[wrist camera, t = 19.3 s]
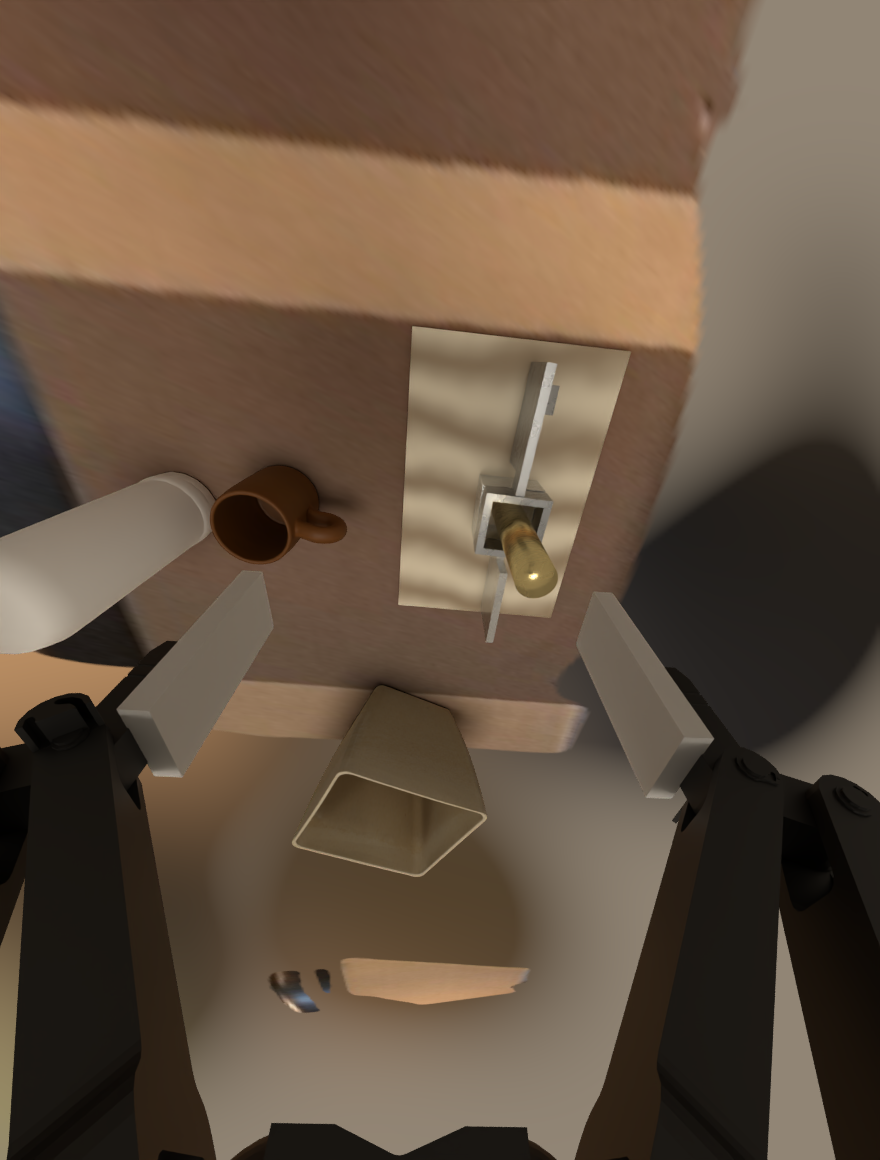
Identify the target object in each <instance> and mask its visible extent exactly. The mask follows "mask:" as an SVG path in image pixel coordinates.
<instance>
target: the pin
mask: <svg viewBox="0 0 880 1160" xmlns="http://www.w3.org/2000/svg"><path fill="white" fill-rule="evenodd" d="M491 513H492V516H493V519H494V522H495V525H496V528H497V531H498V535H499V538H500V541H501V544H502V547H503V550H504V553H505V556H506V559H507V562H508V565H509V568H510V571H511V575H512V578H513V581H514V584H515V587H516V589H517V591H518V592H519V593H520V594H521V595H523V596H524V597H527V598H540V597H543V596H546V595H547V594H549V593H550V592H551V591H552V590H553V589H554V588H555V587H556V585H557V582H558V573H557V571H556V569H555V567H554V565H553V563H552V561H551V560H550V558H549V556H548V554H547V552H546V550H545V548H544V547H543V545H542V543H541V541H540V539H539V537H538V535H537V533H536V532H535V530H534V528H533V526H532V524H531V522H530V520H529V519H528V517H527V515H526V513H525V511H524V509H523V507H522V505H517V504H509V503H502V502H494V501H493V504H492V509H491Z"/></svg>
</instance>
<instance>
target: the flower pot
mask: <svg viewBox="0 0 880 1160" xmlns="http://www.w3.org/2000/svg"><path fill="white" fill-rule="evenodd" d="M486 819H487V814H486V810H485V805H484V801H483V797H482V793H481V790H480V786H479V783H478V780H477V776H476V773H475V770H474V766H473V764H472V761H471V758H470V755H469V752H468V750H467V747H466V745H465V742H464V740H463V737H462V735H461V733H460V731H459V728H458V726H457V724H456V722H455V720H454V718H453V716H452V714H451V713H450V711H449V710H448V709H446V708H443V707H440V706H437V705H435V704H432V703H430V702H427V701H424V700H422V699H419V698H416V697H414V696H411V695H408V694H406V693H403V692H400V691H398V690H395V689H392V688H389V687H387V686H383V685H381V686H378V687H376V688H375V690H374V691H373V693H372V694H371V696H370V697H369V699H368V701H367V702H366V704H365V706H364V707H363V709H362V710H361V712H360V714H359V715H358V717H357V718H356V720H355V721H354V723H353V725H352V726H351V728H350V729H349V731H348V733H347V734H346V736H345V737H344V739H343V740H342V742H341V744H340V745H339V747H338V749H337V751H336V752H335V754H334V756H333V757H332V759H331V761H330V763H329V765H328V767H327V768H326V770H325V772H324V774H323V776H322V778H321V780H320V782H319V784H318V786H317V788H316V790H315V792H314V794H313V796H312V798H311V800H310V802H309V804H308V807H307V809H306V811H305V813H304V815H303V817H302V819H301V822H300V824H299V826H298V829H297V831H296V833H295V836H294V838H293V841H292V844H293V845H294V846H295V847H297V848H301V849H305V850H309V851H313V852H317V853H320V854H324V855H329V856H333V857H337V858H341V859H345V860H349V861H352V862H356V863H360V864H365V865H368V866H373V867H377V868H381V869H385V870H389V871H393V872H398V873H402V874H406V875H410V876H414V877H419V876H423V875H424V874H425V873H426V872H427V871H428V870H430V869H431V868H432V867H433V866H434V865H435V864H436V863H437V862H439V861H440V860H441V859H442V858H443V857H444V856H445V855H447V854H448V853H449V852H450V851H451V850H452V849H453V848H455V846H457V845H458V844H459V843H460V842H461V841H462V840H464V839H465V838H466V837H467V836H468V835H469V834H470V833H472V832H473V831H474V830H475V829H476V828H477V827H478V826H480V825H481V824H482V823H483V822H484V821H485V820H486Z"/></svg>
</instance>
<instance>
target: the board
mask: <svg viewBox="0 0 880 1160" xmlns="http://www.w3.org/2000/svg"><path fill="white" fill-rule="evenodd" d="M630 354H631V351H622V350H613V349H605V348H596V347H588V346H579V345H570V344H562V343H553V342H545V341H536V340H527V339H519V338H510V337H502V336H493V335H484V334H476V333H467V332H459V331H450V330H441V329H433V328H424V327H416V326H412V342H411V362H410V382H409V402H408V422H407V442H406V462H405V482H404V502H403V522H402V542H401V562H400V582H399V602H398V605H408V606H419V607H431V608H443V609H455V610H466V611H478V612H481V602H482V597H483V591H484V586H485V580H486V575H487V569H488V564H489V558H490V556H488V555H480V554H475V551H474V545H473V542H474V541H473V535H472V529H471V527H472V521H473V514H474V507H475V501H476V494H477V487H478V481H479V474H480V475H490V476H500V477H510V478H514V477H515V473H516V471H515V469H514V468H513V466H512V465H511V463H510V462H509V461H510V456H511V452H512V447H513V443H514V438H515V434H516V429H517V424H518V420H519V415H520V411H521V406H522V402H523V397H524V393H525V388H526V383H527V379H528V374H529V370H530V365H531V362H550V363H556V364H557V367H556V371H555V375H554V379H553V383H552V384H553V385H557V386H560V387H559V391H558V396H557V400H556V404H555V409H554V413H553V415H544V419H543V423H542V427H541V431H540V435H539V439H538V443H537V447H536V451H535V455H534V459H533V463H532V467H531V471H530V475H529V479H530V480H537V481H538V482H539V484H540V485H541V486H542V487H543V489H544V490H545V491H546V492H545V493H547V494H548V495H549V497H550V498H551V499H552V500H553V505H552V509H551V512H550V516H549V519H548V522H547V526H546V529H545V533H544V536H543V539H542V545H543V547H544V548H545V550H546V552H547V554H548V556H549V558H550V560H551V561H552V563H553V565H554V567H555V569H556V571H557V573H558V582H557V585H556V587H555V588H554V589H553V590H552V591H551V592H550V593H549V594H547V595H546V596H543V597H540V598H527V597H524V596H523V595H521V594H520V593H519V592H518V591H517V589H516V587H515V584H514V581H513V578H512V575H511V571H510V568H509V565H508V562H507V559H506V558H505V557H504V563H505V567H506V570H507V573H508V575H507V580H506V584H505V589H504V593H503V598H502V603H501V607H500V612H499V613H502V614H514V615H525V616H537V617H549V618H551V615H552V612H553V608H554V605H555V602H556V598H557V595H558V592H559V588H560V585H561V582H562V578H563V575H564V572H565V569H566V565H567V562H568V559H569V555H570V552H571V549H572V545H573V542H574V539H575V536H576V532H577V529H578V526H579V522H580V519H581V516H582V512H583V509H584V506H585V503H586V499H587V496H588V493H589V489H590V486H591V483H592V479H593V476H594V473H595V470H596V466H597V463H598V460H599V456H600V453H601V450H602V446H603V443H604V440H605V436H606V433H607V430H608V427H609V423H610V420H611V417H612V413H613V410H614V407H615V403H616V400H617V397H618V394H619V390H620V387H621V384H622V380H623V377H624V374H625V370H626V367H627V364H628V361H629V357H630ZM524 506H525V505H522V507H523V509H524ZM488 524H491V525H495V522H494V519H493V516H492V513H490V518H489V523H488Z"/></svg>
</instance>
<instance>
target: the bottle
mask: <svg viewBox="0 0 880 1160" xmlns="http://www.w3.org/2000/svg"><path fill="white" fill-rule="evenodd" d="M215 501H216V500H215V499H214V498H213V496H212V495H211V493H210V492H209V490H208V489H207V488H206V487H205V486H203V485H202V484H201V483H200V482H199V481H198V480H196V479H194V478H192V477H190V476H188V475H186V474H182V473H176V472H167V473H162V474H159V475H156V476H151V477H148V478H145V479H143V480H141V481H140V482H138V483H136V484H134V485H131V486H129V487H126V488H124V489H121V490H119V491H116V492H114V493H111V494H109V495H106V496H104V497H101V498H99V499H96V500H94V501H91V502H89V503H86V504H84V505H81V506H79V507H76V508H74V509H71V510H69V511H66V512H64V513H61V514H59V515H56V516H54V517H51V518H49V519H46V520H44V521H41V522H39V523H36V524H34V525H31V526H29V527H26V528H24V529H21V530H19V531H16V532H14V533H11V534H9V535H6V536H4V537H1V538H0V653H2V654H20V653H27V652H32V651H35V650H38V649H41V648H44V647H47V646H50V645H53V644H55V643H58V642H60V641H63V640H65V639H66V638H68V637H70V636H71V635H73V634H74V633H76V632H77V631H79V630H80V629H81V628H83V627H84V626H85V625H87V624H88V623H89V622H91V621H92V620H93V619H95V618H96V617H98V616H99V615H100V614H102V613H103V612H104V611H106V610H107V609H108V608H110V607H111V606H112V605H114V604H115V603H116V602H118V601H119V600H120V599H122V598H123V597H124V596H126V595H127V594H129V593H130V592H131V591H133V590H134V589H135V588H137V587H138V586H139V585H141V584H142V583H143V582H145V581H146V580H147V579H149V578H150V577H151V576H153V575H154V574H156V573H157V572H158V571H160V570H161V569H162V568H164V567H165V566H166V565H168V564H169V563H170V562H172V561H173V560H174V559H176V558H177V557H178V556H180V555H181V554H183V553H184V552H185V551H187V550H188V549H189V548H191V547H192V546H194V545H195V544H197V543H199V542H200V541H202V540H203V539H205V538H206V537H207V536H208V535H209V534H210V533H211V532H212V529H211V525H210V512H211V508H212V506H213V504H214V502H215Z"/></svg>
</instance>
